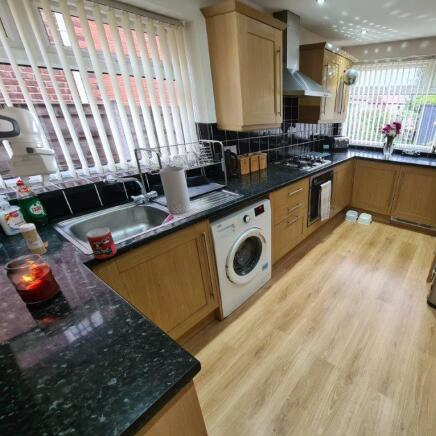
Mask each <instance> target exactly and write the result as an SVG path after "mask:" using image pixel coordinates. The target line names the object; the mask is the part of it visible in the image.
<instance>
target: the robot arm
mask: <svg viewBox="0 0 436 436" xmlns="http://www.w3.org/2000/svg"><path fill="white" fill-rule="evenodd" d="M41 136H42V131H41V127H40V124H39V121H38V119H37V116H36V115H35V114H34V113H33V112H31V111H30V110H28V109H26V108H22V107H17V106H6V107H5V108H2V109H0V144H1V143H3V142H4V141H9V142H10V145H11V150H12V155H11V157H10V158H9V161H8V162H9V170H10V175H11V176H12V177H14V178H19V180H20V181H21V182H22V183H23V187H24V188H25V189H26V188H29V189H30V188H33V182H31V181H30V180H29V179H30V177H35V176H40V177H41V178H42V180H41V181H40V184H41V186H42V187H49V186H50V181H51V175H54V174H57V172H58V164H57V159H56V157H55V153H56V152H55V150H54V149H52V148H48V147H46V146H45V145H44V143H43V141H42V137H41Z"/></svg>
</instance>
